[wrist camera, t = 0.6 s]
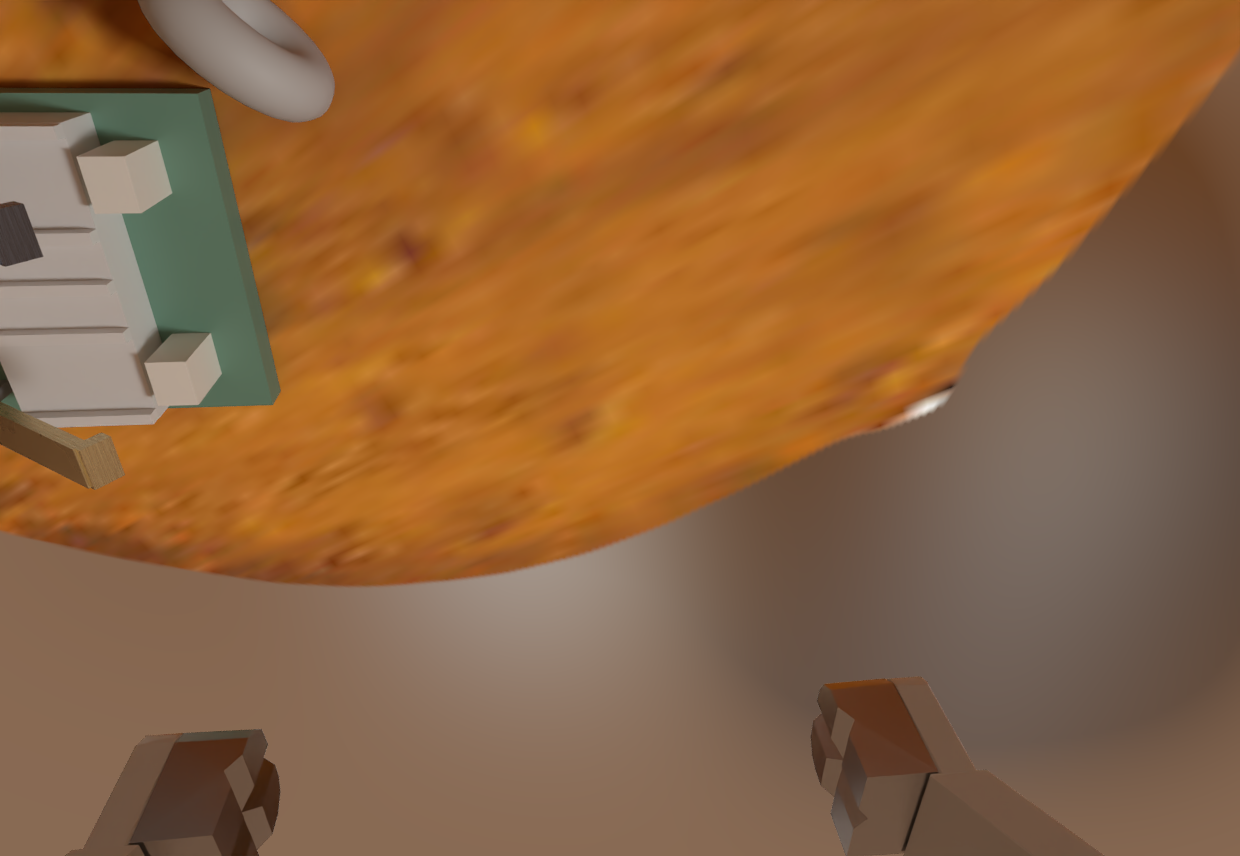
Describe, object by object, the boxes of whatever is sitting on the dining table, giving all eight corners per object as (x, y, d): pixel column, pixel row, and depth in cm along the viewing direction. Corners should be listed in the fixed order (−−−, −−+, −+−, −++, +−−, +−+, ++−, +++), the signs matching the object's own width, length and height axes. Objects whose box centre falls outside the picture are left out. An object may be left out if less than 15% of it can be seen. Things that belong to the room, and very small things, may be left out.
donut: (170, -13, 43) (80, -7, 34) (203, -67, 42) (118, -74, 33) (329, 119, 47) (284, 154, 38) (363, 73, 46) (324, 99, 37)
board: (-144, 87, 44) (-260, 108, 37) (209, 88, 45) (157, 109, 39) (-4, 399, 54) (-76, 458, 48) (280, 391, 56) (248, 447, 49)
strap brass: (-50, 364, 47) (-89, 377, 46) (110, 436, 40) (71, 454, 39) (-34, 399, 48) (-71, 413, 47) (125, 475, 42) (87, 493, 40)
